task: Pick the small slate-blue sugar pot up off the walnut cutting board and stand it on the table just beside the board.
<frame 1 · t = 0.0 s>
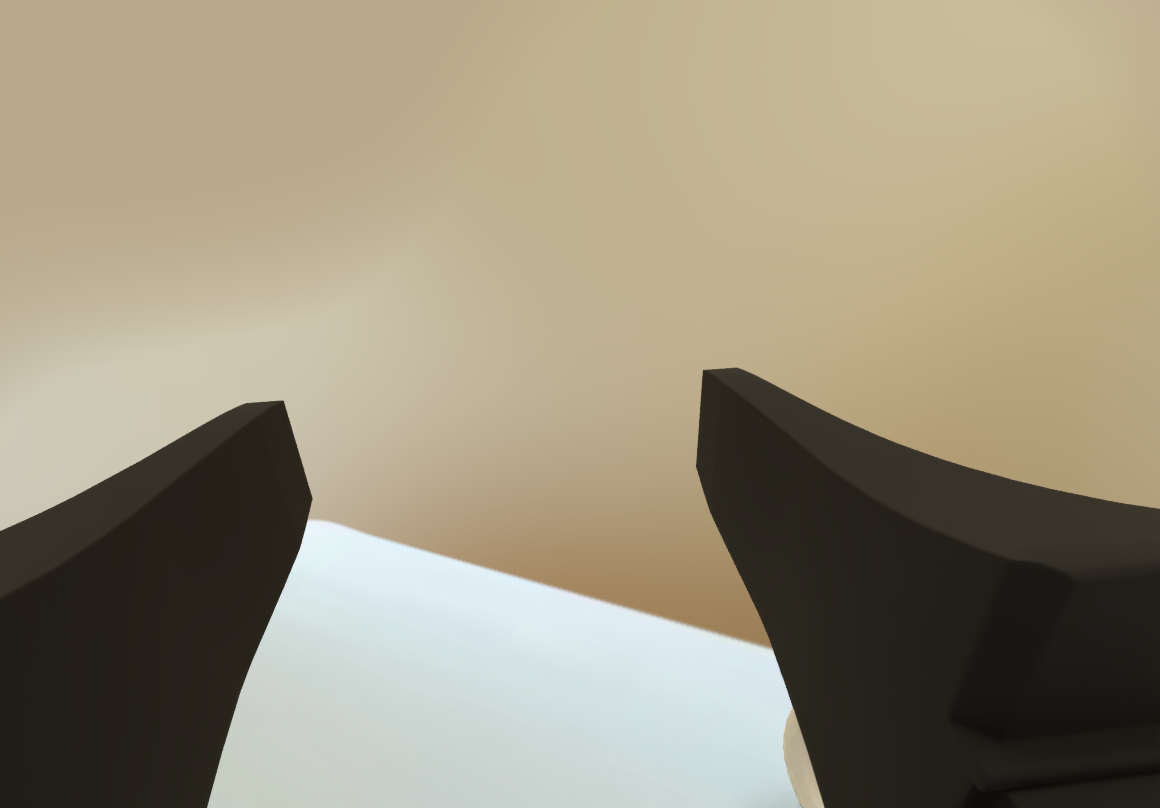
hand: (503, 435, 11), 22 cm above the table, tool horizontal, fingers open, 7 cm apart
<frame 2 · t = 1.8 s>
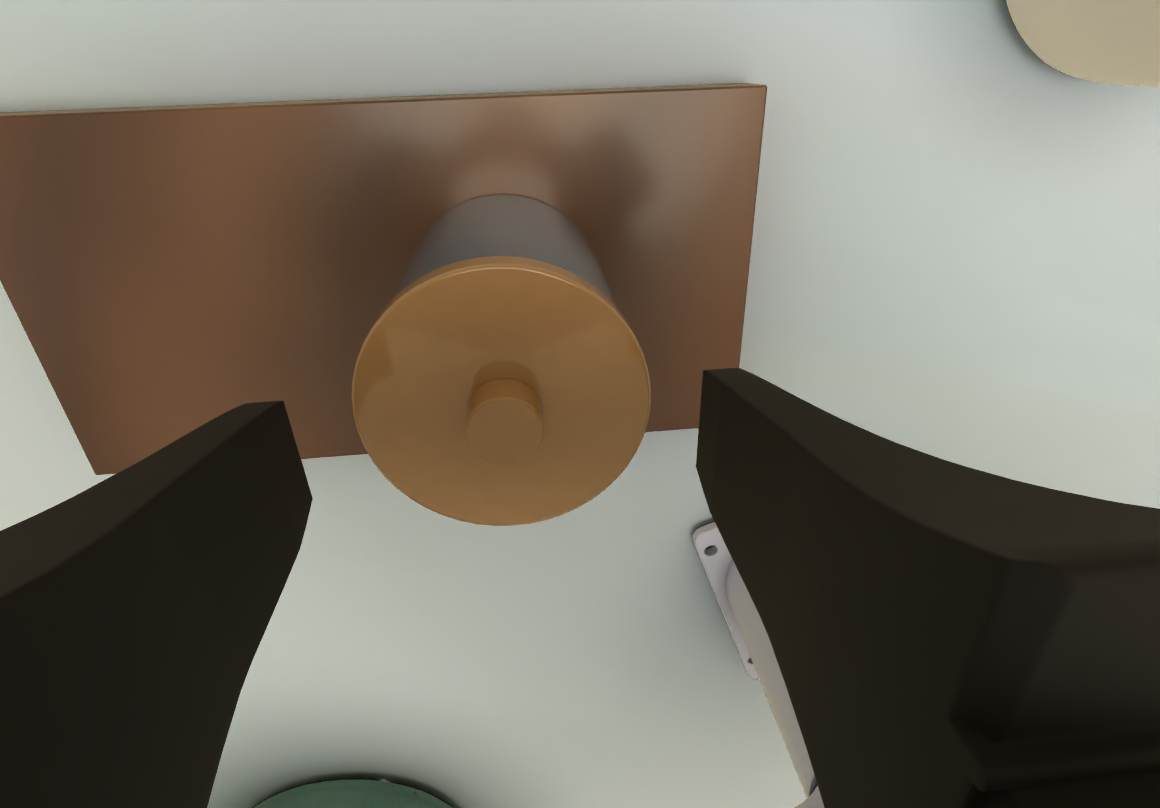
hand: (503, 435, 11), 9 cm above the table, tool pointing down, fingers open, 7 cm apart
cutting board: (406, 282, 19), on the table
sugar pot: (506, 292, 18), point 1 cm above the table, touching cutting board
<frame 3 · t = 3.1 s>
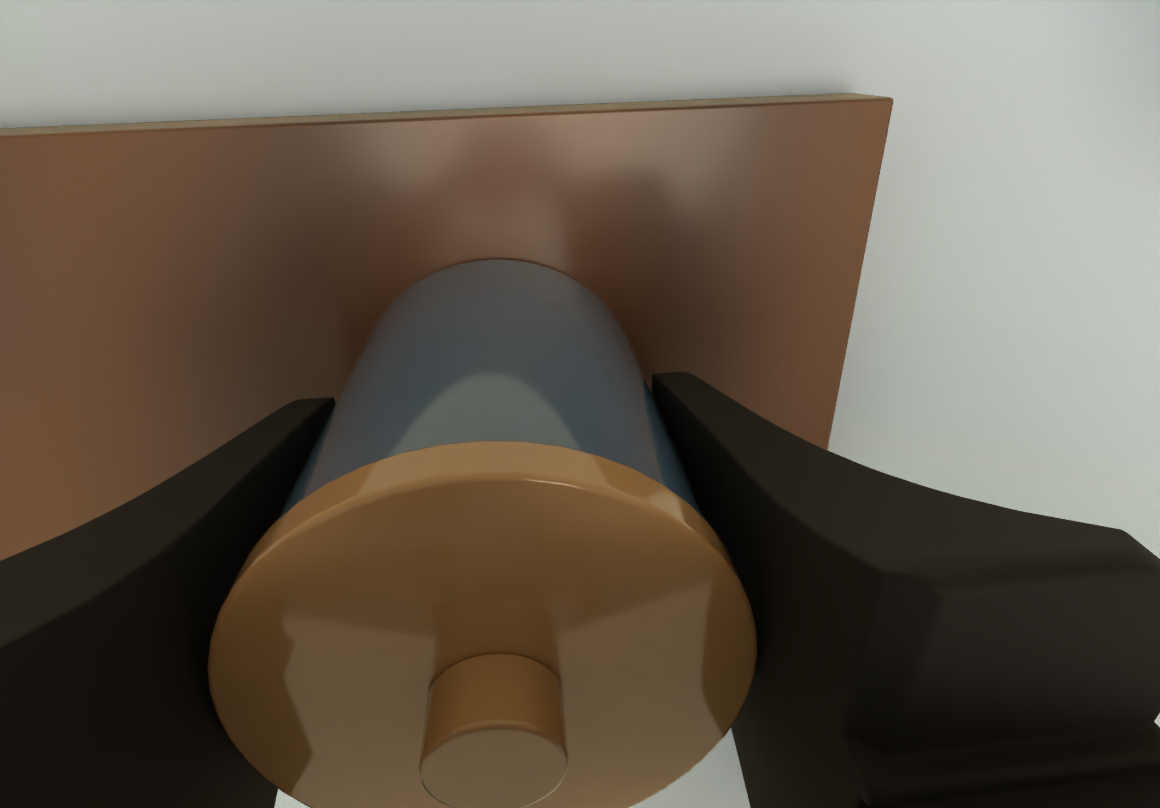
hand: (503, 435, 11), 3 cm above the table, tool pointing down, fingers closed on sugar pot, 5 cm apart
cutting board: (363, 370, 14), on the table
sugar pot: (502, 392, 12), point 2 cm above the table, touching cutting board, gripper
when the fingers open (2 cm above the table, at t = 8.4 s): sugar pot stays where it is, on the table.
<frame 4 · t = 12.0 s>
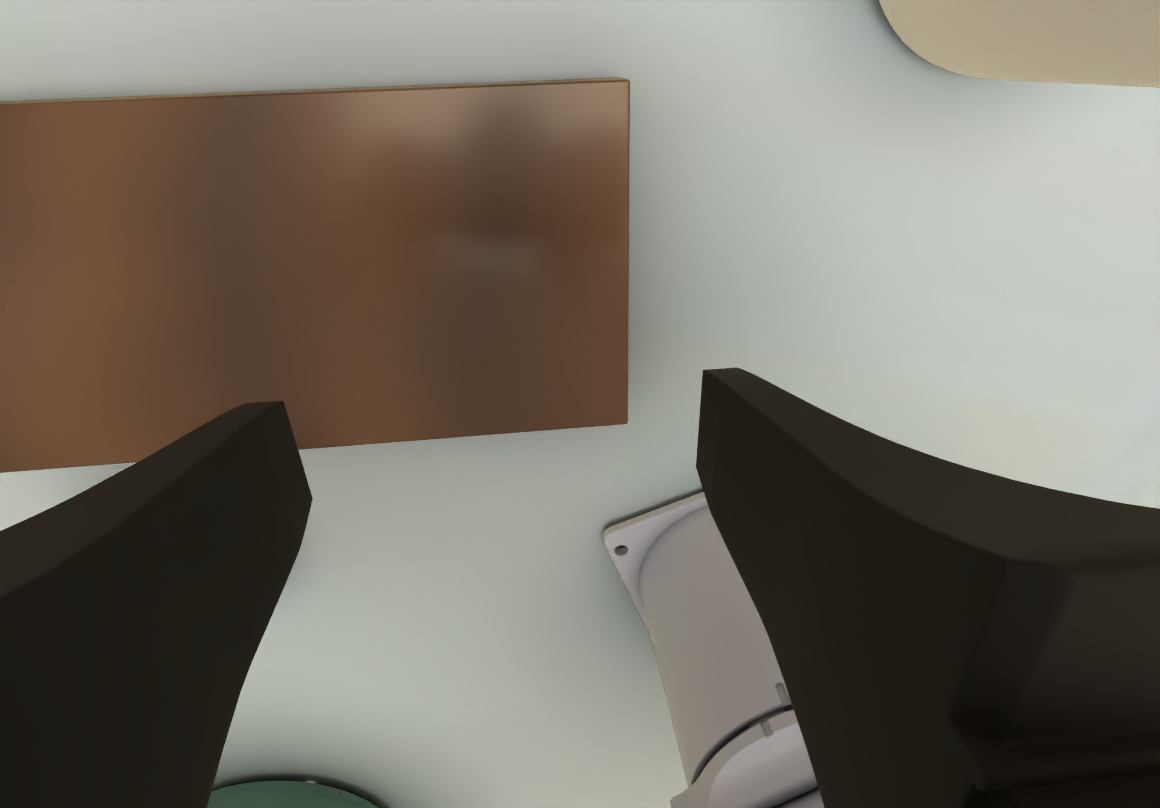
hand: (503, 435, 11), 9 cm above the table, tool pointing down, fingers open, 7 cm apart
cutting board: (286, 280, 19), on the table
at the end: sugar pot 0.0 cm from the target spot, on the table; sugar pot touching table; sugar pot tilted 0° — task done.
